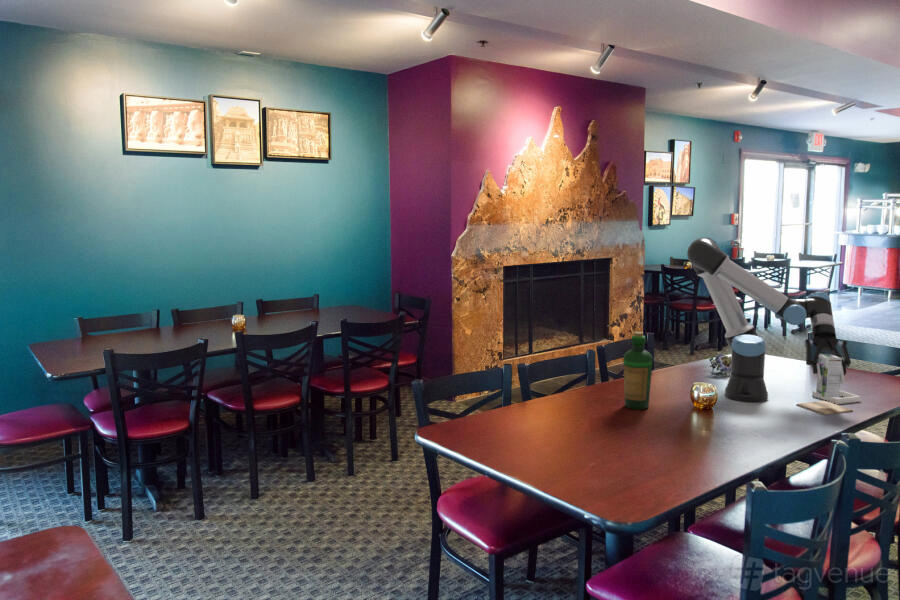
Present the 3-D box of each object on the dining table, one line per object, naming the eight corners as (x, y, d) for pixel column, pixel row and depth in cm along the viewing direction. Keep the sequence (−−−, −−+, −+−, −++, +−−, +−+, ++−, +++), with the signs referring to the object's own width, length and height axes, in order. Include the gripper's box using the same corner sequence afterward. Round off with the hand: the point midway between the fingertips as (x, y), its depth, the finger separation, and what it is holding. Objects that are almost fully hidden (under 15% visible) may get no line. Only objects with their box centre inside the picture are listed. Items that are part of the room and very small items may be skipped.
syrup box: (815, 392, 234) (817, 354, 232) (832, 392, 234) (834, 354, 232) (822, 397, 229) (824, 357, 227) (840, 397, 228) (842, 357, 226)
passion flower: (726, 387, 280) (722, 369, 274) (704, 378, 289) (700, 360, 282) (741, 371, 284) (737, 352, 277) (719, 362, 292) (715, 344, 286)
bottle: (615, 405, 239) (617, 331, 235) (637, 401, 244) (639, 329, 240) (636, 412, 230) (638, 336, 226) (657, 408, 234) (660, 333, 231)
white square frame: (836, 404, 237) (837, 399, 237) (812, 396, 247) (812, 391, 247) (860, 401, 240) (860, 396, 240) (834, 393, 250) (835, 388, 250)
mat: (823, 415, 225) (823, 413, 225) (796, 405, 236) (796, 403, 236) (852, 411, 228) (852, 409, 228) (824, 402, 240) (824, 400, 240)
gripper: (850, 335, 240) (860, 388, 227) (792, 333, 246) (798, 385, 233) (855, 323, 234) (865, 377, 221) (795, 321, 241) (802, 374, 227)
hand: (830, 381), depth 227 cm, fingers closed on syrup box, 6 cm apart
